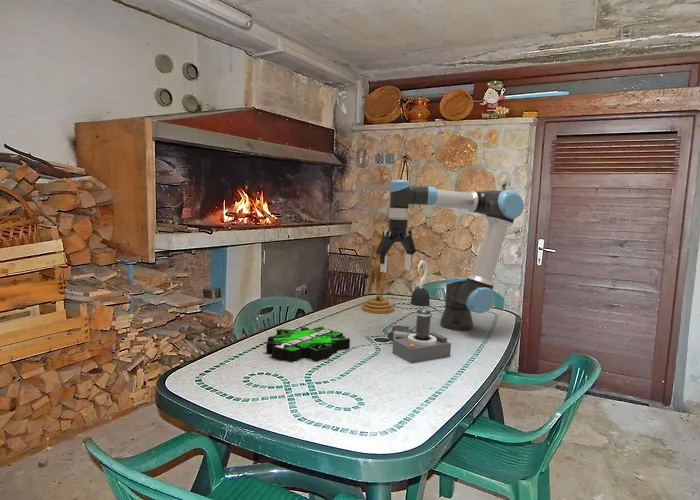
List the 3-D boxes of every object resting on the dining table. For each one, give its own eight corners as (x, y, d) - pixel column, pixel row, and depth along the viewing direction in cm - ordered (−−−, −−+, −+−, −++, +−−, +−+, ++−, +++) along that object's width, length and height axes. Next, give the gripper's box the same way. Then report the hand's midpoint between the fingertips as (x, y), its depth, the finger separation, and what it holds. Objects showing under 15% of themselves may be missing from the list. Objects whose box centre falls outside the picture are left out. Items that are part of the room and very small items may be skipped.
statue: (396, 307, 250) (400, 230, 246) (391, 315, 234) (395, 232, 229) (365, 304, 254) (368, 228, 249) (358, 311, 238) (362, 230, 233)
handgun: (443, 338, 200) (439, 348, 186) (392, 332, 207) (385, 341, 192) (443, 329, 200) (439, 338, 186) (393, 322, 206) (385, 331, 192)
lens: (423, 339, 180) (425, 308, 178) (432, 343, 175) (434, 311, 174) (412, 340, 177) (413, 309, 176) (420, 344, 173) (422, 312, 171)
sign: (305, 357, 158) (244, 338, 175) (304, 369, 159) (244, 349, 176) (360, 335, 185) (302, 321, 202) (359, 346, 185) (302, 331, 202)
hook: (425, 308, 251) (427, 262, 248) (406, 305, 257) (409, 260, 254) (433, 304, 260) (436, 260, 257) (415, 301, 266) (418, 258, 263)
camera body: (430, 346, 187) (431, 330, 186) (450, 356, 177) (451, 339, 176) (392, 352, 178) (393, 335, 178) (411, 362, 168) (412, 345, 167)
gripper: (413, 218, 200) (410, 267, 202) (368, 218, 184) (366, 271, 187) (426, 219, 194) (423, 270, 196) (381, 219, 178) (378, 274, 181)
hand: (395, 270), depth 192 cm, fingers open, 13 cm apart
